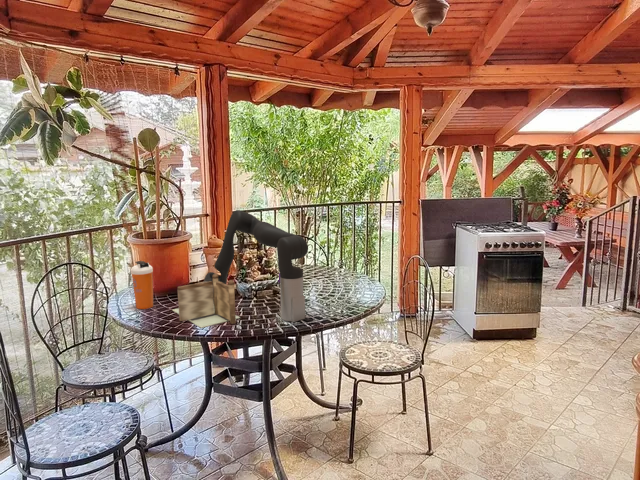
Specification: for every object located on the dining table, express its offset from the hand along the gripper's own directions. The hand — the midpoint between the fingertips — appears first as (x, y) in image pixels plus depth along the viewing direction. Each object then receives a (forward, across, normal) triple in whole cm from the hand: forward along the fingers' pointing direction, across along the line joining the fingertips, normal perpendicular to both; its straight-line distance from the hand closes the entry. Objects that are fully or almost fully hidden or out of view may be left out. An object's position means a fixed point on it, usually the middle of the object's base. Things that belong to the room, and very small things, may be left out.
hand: (187, 304), depth 178 cm
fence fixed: (-3, +14, +6) cm, 16 cm away
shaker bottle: (-15, -26, +7) cm, 31 cm away
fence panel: (-1, +3, +6) cm, 7 cm away
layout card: (-7, +4, +6) cm, 11 cm away
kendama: (-51, +31, +7) cm, 60 cm away
